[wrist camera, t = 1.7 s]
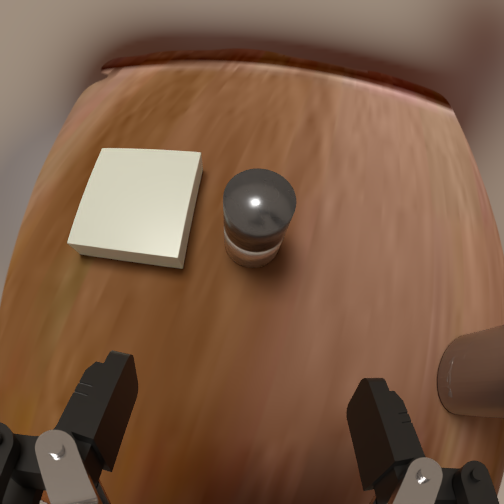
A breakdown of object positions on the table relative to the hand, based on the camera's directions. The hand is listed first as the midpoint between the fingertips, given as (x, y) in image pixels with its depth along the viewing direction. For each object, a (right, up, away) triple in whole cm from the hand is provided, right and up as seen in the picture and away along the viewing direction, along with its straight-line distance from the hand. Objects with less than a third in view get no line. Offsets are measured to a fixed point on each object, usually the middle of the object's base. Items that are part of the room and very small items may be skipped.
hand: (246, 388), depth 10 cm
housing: (0, +6, +19) cm, 20 cm away
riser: (-11, +9, +20) cm, 24 cm away
